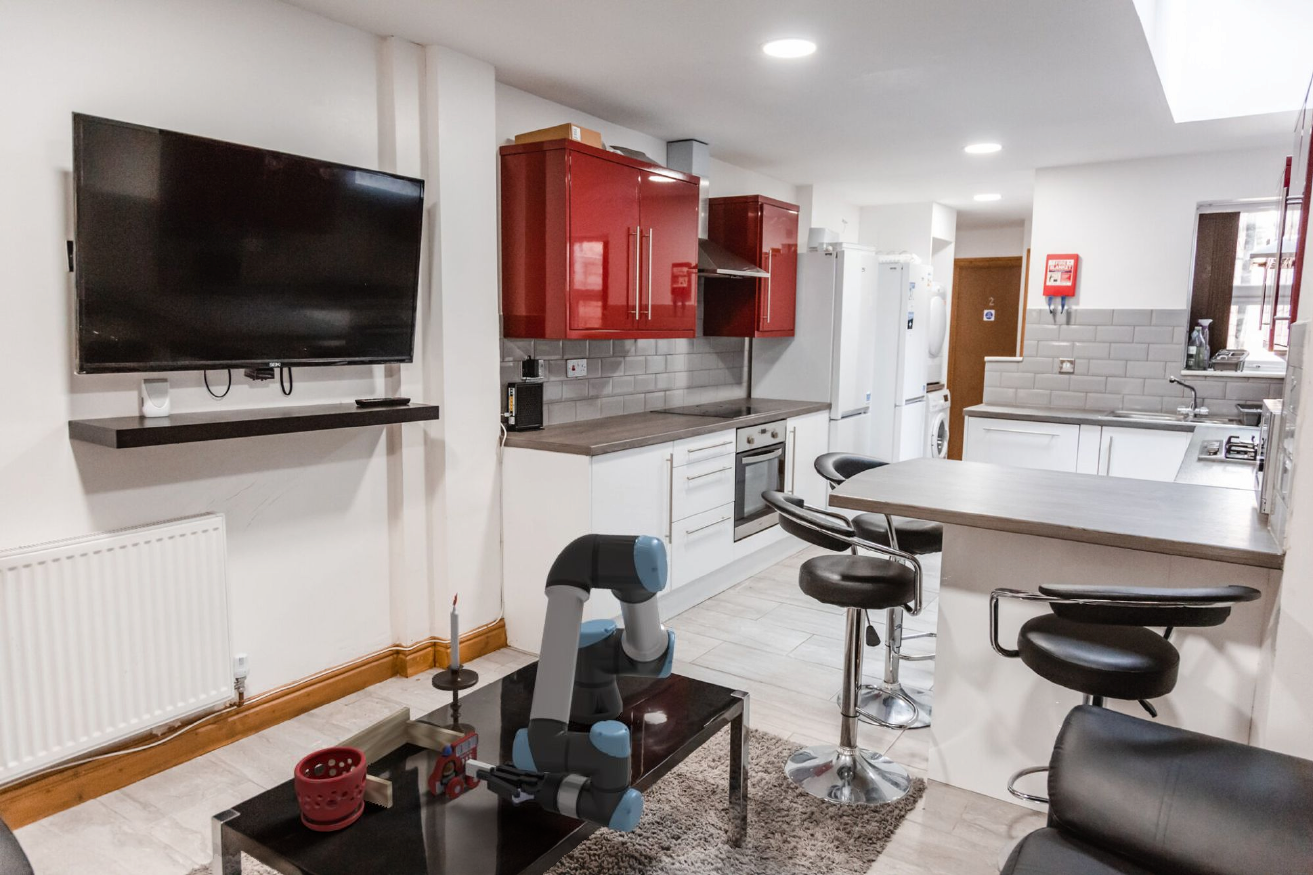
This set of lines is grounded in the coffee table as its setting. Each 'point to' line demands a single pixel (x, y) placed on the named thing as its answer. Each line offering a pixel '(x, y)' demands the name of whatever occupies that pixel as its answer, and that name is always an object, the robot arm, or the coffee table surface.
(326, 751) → the plant pot
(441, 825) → the coffee table surface
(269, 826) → the coffee table surface
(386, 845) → the coffee table surface
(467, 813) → the coffee table surface
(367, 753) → the box
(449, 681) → the candlestick
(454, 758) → the toy fire truck
